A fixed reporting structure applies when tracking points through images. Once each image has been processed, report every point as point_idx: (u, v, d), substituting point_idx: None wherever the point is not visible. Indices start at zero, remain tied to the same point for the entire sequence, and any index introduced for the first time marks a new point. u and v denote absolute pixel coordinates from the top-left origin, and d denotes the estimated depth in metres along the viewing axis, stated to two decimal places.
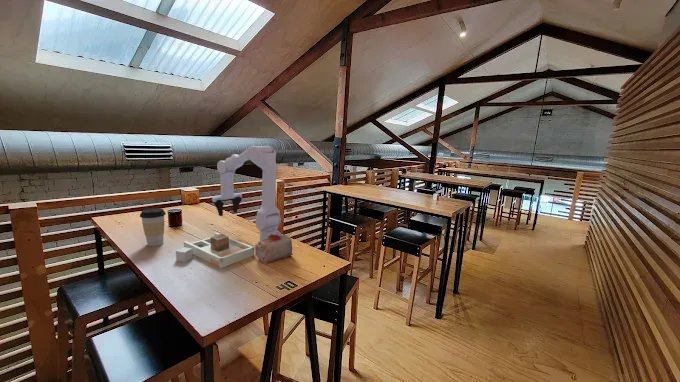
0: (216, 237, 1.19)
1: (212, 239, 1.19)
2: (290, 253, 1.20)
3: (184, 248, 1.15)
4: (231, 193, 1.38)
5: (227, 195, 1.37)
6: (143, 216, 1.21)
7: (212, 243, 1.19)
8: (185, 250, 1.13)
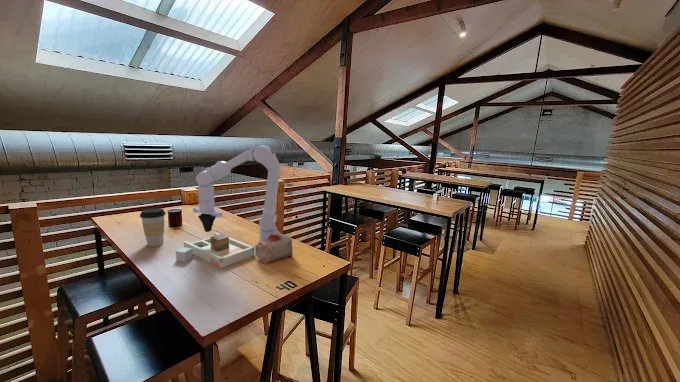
0: (216, 237, 1.19)
1: (212, 239, 1.19)
2: (290, 253, 1.20)
3: (184, 248, 1.15)
4: (202, 208, 1.20)
5: (199, 209, 1.21)
6: (143, 216, 1.21)
7: (212, 243, 1.19)
8: (185, 250, 1.13)
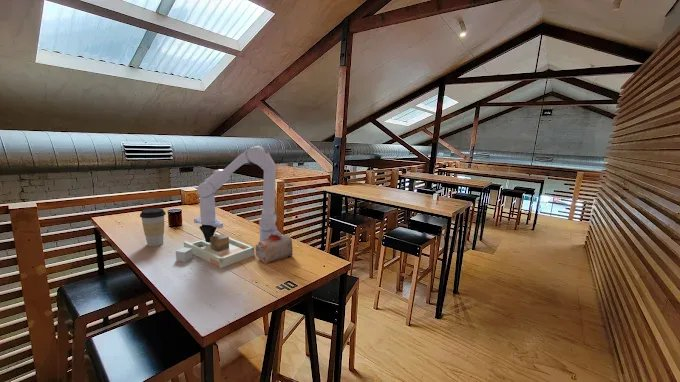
0: (216, 237, 1.19)
1: (212, 239, 1.19)
2: (290, 253, 1.20)
3: (184, 248, 1.15)
4: (203, 219, 1.20)
5: (200, 220, 1.22)
6: (143, 216, 1.21)
7: (212, 243, 1.19)
8: (185, 250, 1.13)
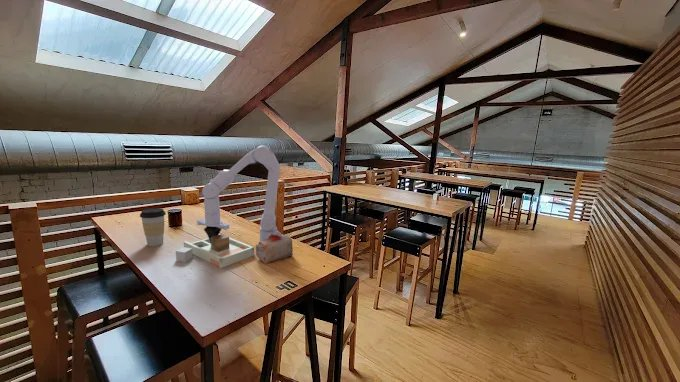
0: (216, 237, 1.19)
1: (212, 239, 1.19)
2: (290, 253, 1.20)
3: (184, 248, 1.15)
4: (208, 221, 1.18)
5: (205, 222, 1.20)
6: (143, 216, 1.21)
7: (212, 243, 1.19)
8: (185, 250, 1.13)
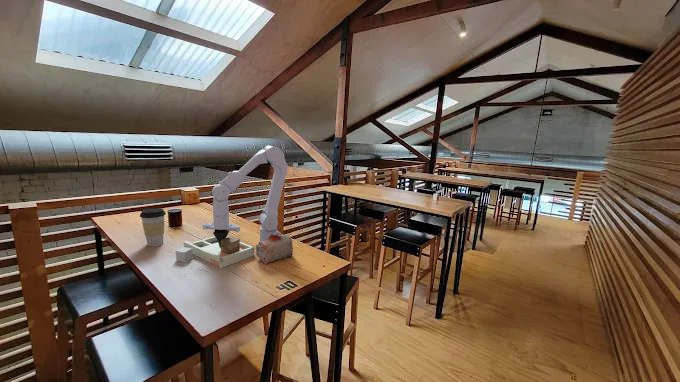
0: (227, 240, 1.16)
1: (223, 242, 1.16)
2: (291, 253, 1.20)
3: (184, 248, 1.15)
4: (218, 224, 1.15)
5: (214, 225, 1.16)
6: (143, 216, 1.21)
7: (223, 246, 1.16)
8: (185, 250, 1.13)
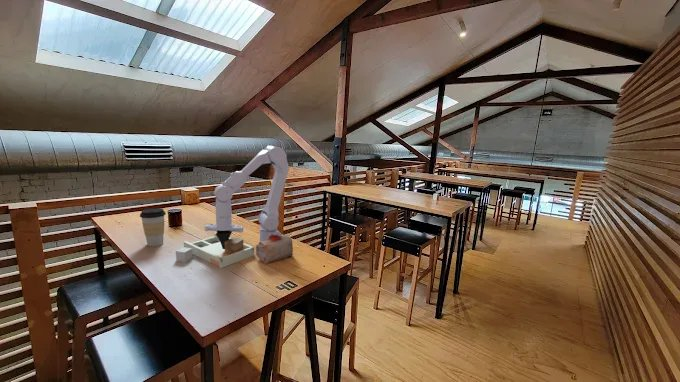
0: (231, 241, 1.16)
1: (227, 243, 1.15)
2: (291, 253, 1.20)
3: (184, 248, 1.15)
4: (222, 225, 1.14)
5: (217, 226, 1.15)
6: (143, 216, 1.21)
7: (227, 248, 1.15)
8: (185, 250, 1.13)
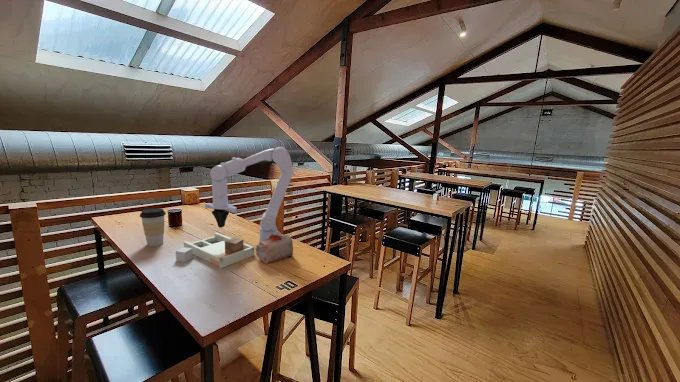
0: (231, 241, 1.16)
1: (227, 243, 1.15)
2: (291, 253, 1.20)
3: (184, 248, 1.15)
4: (216, 204, 1.18)
5: (213, 205, 1.19)
6: (143, 216, 1.21)
7: (227, 248, 1.15)
8: (185, 250, 1.13)
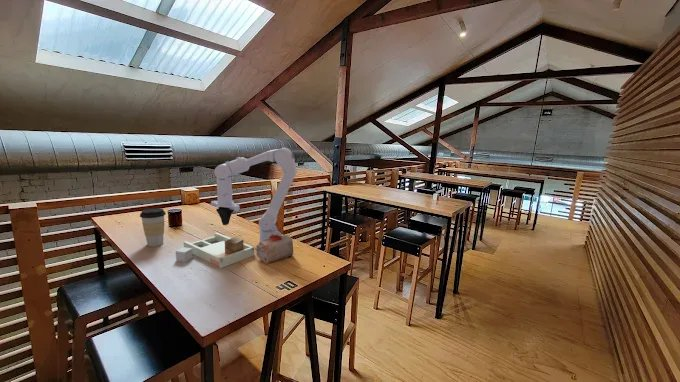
0: (231, 241, 1.16)
1: (227, 243, 1.15)
2: (291, 253, 1.20)
3: (184, 248, 1.15)
4: (220, 201, 1.20)
5: (217, 202, 1.22)
6: (143, 216, 1.21)
7: (227, 248, 1.15)
8: (185, 250, 1.13)
